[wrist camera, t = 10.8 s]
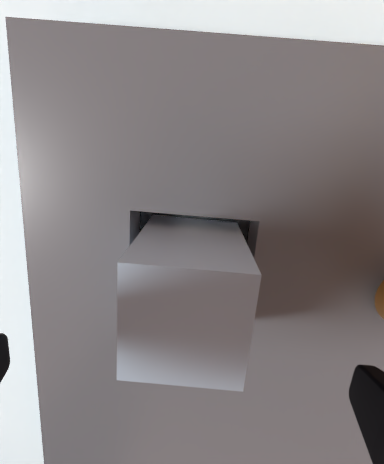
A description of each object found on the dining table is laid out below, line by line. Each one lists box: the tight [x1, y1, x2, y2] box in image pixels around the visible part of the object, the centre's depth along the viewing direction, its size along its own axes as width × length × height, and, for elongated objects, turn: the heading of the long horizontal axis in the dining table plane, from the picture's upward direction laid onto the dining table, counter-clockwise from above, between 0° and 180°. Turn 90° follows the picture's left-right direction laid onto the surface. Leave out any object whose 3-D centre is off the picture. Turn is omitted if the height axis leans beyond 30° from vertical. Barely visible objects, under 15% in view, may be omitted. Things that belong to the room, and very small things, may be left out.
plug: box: [117, 215, 261, 392], centre depth 12 cm, size 4×4×6 cm
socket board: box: [6, 17, 384, 464], centre depth 14 cm, size 22×18×2 cm
